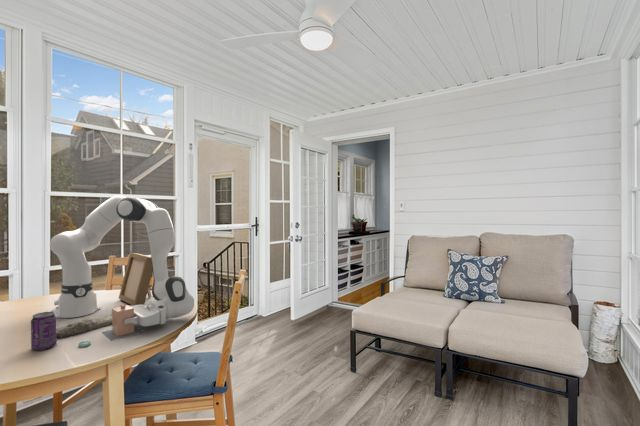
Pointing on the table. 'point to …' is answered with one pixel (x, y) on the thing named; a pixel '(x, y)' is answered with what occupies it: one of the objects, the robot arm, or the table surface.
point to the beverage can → (43, 330)
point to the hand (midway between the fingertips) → (120, 319)
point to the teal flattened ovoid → (84, 344)
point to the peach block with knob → (118, 317)
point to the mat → (112, 336)
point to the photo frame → (137, 279)
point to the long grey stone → (83, 326)
